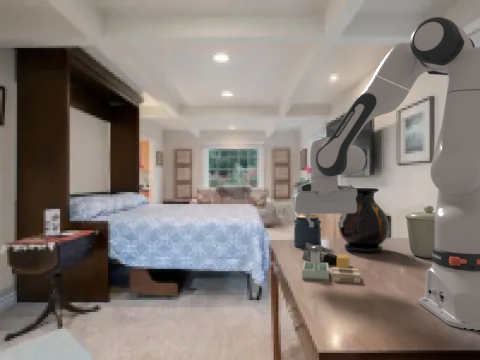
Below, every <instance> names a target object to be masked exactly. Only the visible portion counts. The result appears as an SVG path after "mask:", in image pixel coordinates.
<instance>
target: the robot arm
mask: <svg viewBox="0 0 480 360" xmlns="http://www.w3.org/2000/svg"><path fill="white" fill-rule="evenodd" d="M426 72H427V73H428V74H429V75H436V76H437V75H439V76H440V75H441V76H448V83H447V90H446V96H445V103H444V109H443V113H442V115H443V116H442V122H441V127H440V131H439V133H438V138H437V141H436V145H435V148H434V153H433V157H432V161H431V166H430V171H429V172H430V174H429V175H430V178H431V181H432V183H433V184H434V186H435V187H436V188H437V198H436V199H437V200H436V207H435V208H436V209H435V212H436V213H435V247H433V252H432V258H431V259H432V260H431V261H432V262H433V263H432V265H431V266H430V267H429V268H428V269H427V270H426V271H425V285H424V296H422V297H419V298H418V304H419V305H421V306H422V307H424V308H425V309H427V310H428V311H429V312H430V313H431V314H434V315H435V317H437V318H438V319H440V320H441V321H442V322H444V323H445V324H446V325H449V326H452V327H456V328H460V329H464V328H466V329H465V330H470V329H474V330H473V331H478V330H480V46H478V47H477V46H475V43H474V41H473V40H472V39H471V38H470V37H469V35H468V34H467V33H466V31H465V30H464V29H463V28H461V27H460V26H458V24H456V23H455V22H454V21H452V20H451V19H449V18H445V17H440V16H439V17H438V16H437V17H431V18H428V19H425V20H424V21H422V22H421V23H419V24H418V25H417V27H416V28H414V31H413V32H412V34H411V36H410V40H409V42H400V43H396V44H394V46H392V47H391V49H390V50H389V52H388V53H386V55H385V56H384V58H383V60H382V61H381V62H380V64H379V66H378V68H376V70H375V72H374V74H373V76H372V78H371V80H370V81H369V83H368V84H367V85H366V87H365V89H364V90H363V92H362V93H361V94H360V95H359V96H358V97H357V98H355V100H354V101H353V103H352V104H351V106H350V107H349V108H348V110H347V112H346V113H345V115H344V117H343V118H342V119H341V120H340V123H338V125H337V127H336V128H335V130H334V132H333V133H332V134H331V136H323V137H318V138H316V139H315V140H313V142H311V146H310V153H309V154H310V155H309V156H310V159H309V161H310V168H311V174H310V181H309V182H304V183H303V184H300V185H299V186H298V187H297V189H298V192H299V193H297V194H296V196H295V202H294V212H295V213H296V215H298V214H306V218H307V220H308V222H309V227H314V222H311V220H310V219H309V217H310V214H317V215H322V214H324V215H326V214H331V215H332V214H335V215H336V214H340V217H341V216H342V217H343V218H342V220H341V222H340V221H337V222H338V223H337V225H338V227H337V228H339V227H343V222H344V220H345V218H346V213H356V211H357V203H356V197H357V189H356V188H357V187H355V186H353V185H351V184H349V185H339V177H338V176H353V175H356V174H359V173H360V172H361V171H363V170H364V168H365V167H366V163H367V156H366V153H365V151H364V150H363V149H362V148H361V147H359V146H357V145H353V144H354V142H355V140H356V139H357V138H358V136H359V134H360V133H361V131H362V130H363V128H365V126H366V124H368V123H369V122H370V121H372V120H373V119H375V118H377V117H380V116H382V115H386V114H387V115H388V114H389V113H392V112H394V111H395V110H397V109H398V107H400V106H401V105H402V104H403V102H404V101H405V99H407V96H408V94H409V93H410V91H411V89H412V88H413V86H414V84H415V83H416V81H417V80H418V78H419V77H420V76H421V75H423V74H424V73H426ZM351 188H354V189H351Z"/></svg>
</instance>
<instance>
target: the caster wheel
mask: <svg viewBox="0 0 480 360" xmlns="http://www.w3.org/2000/svg"><path fill="white" fill-rule="evenodd" d="M310 246H319V245H312V244H309V243H306V246H305V248H304V250H303V254H302V258H301V259H302V260H303V261H304V262H311V250H310ZM320 247H321V250H320V262H322V263H328V264H332V265H337V256H338V255H336V254H334V253H331V252H330V251H327V250H326V249H325V248H324V247H323V246H322V245H321V246H320Z"/></svg>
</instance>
